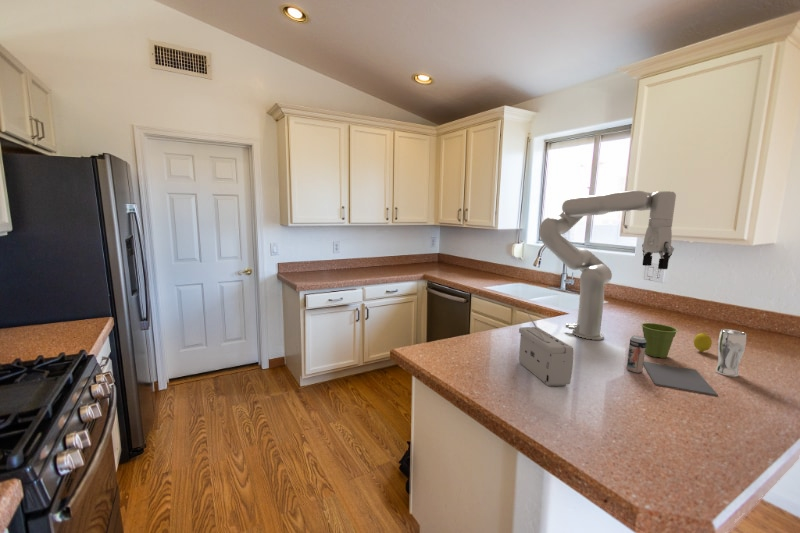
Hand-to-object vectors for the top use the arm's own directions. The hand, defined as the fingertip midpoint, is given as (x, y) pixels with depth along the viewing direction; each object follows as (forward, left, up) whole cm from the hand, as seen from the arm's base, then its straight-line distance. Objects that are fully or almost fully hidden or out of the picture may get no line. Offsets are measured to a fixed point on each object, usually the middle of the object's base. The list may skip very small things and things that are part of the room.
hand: (654, 267), depth 143 cm
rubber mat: (+4, -28, -34) cm, 44 cm away
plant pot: (+3, -6, -34) cm, 35 cm away
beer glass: (+22, -15, -34) cm, 43 cm away
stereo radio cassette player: (-37, -46, -34) cm, 68 cm away
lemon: (+21, +7, -34) cm, 41 cm away
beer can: (-8, -28, -34) cm, 44 cm away
